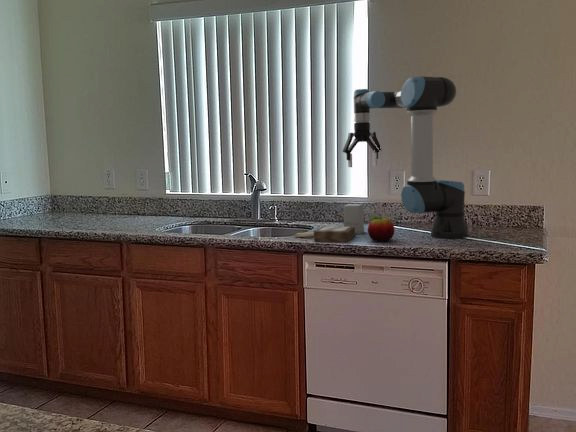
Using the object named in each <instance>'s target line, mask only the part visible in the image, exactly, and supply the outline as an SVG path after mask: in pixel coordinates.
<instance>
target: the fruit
mask: <svg viewBox="0 0 576 432" xmlns="http://www.w3.org/2000/svg"><path fill="white" fill-rule="evenodd" d="M367 218H368V219H372V220H371V221H370V222H369V224H368V227H367V234H368V235H369V236H368V237H370V239H371V240H372V241H374V242H379V243H381V242H382V243H383V242H389V241H390V240H392V238H393V237H394V234H395V226H394V224H393V222H392V221H391V220H390V218H387V217H382V216H375V215H371V216H369V217H367Z"/></svg>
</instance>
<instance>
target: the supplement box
mask: <svg viewBox="0 0 576 432" xmlns="http://www.w3.org/2000/svg"><path fill="white" fill-rule="evenodd" d="M342 208H343V227H355V235H361V234H363V233H364V232H365V222H364V221H365V220H364V219H365V217H364V213H365V211H364V204H363V203H346V204H344V205H343V206H342Z"/></svg>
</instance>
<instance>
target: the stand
mask: <svg viewBox="0 0 576 432" xmlns="http://www.w3.org/2000/svg"><path fill="white" fill-rule="evenodd" d="M313 233H314V238H313V241H314V240H315V241H314V242H329V241H330V243H331V242H333V243H335V242H336V243H339V242H341V243H348V242H349V241H350V240H352V239H353V238H354V237H356V234H355V227H344V226H337V225H336V226H334V225H333V226H332V225H328V226H324V225H323V226H321V227H320V228H318V229H316V230H314V231H313Z"/></svg>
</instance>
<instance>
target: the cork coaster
mask: <svg viewBox="0 0 576 432" xmlns="http://www.w3.org/2000/svg"><path fill="white" fill-rule="evenodd" d="M295 236H297V237H314V232H309V231H308V232H298V233H294V237H295ZM297 237H296V238H297Z"/></svg>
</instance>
